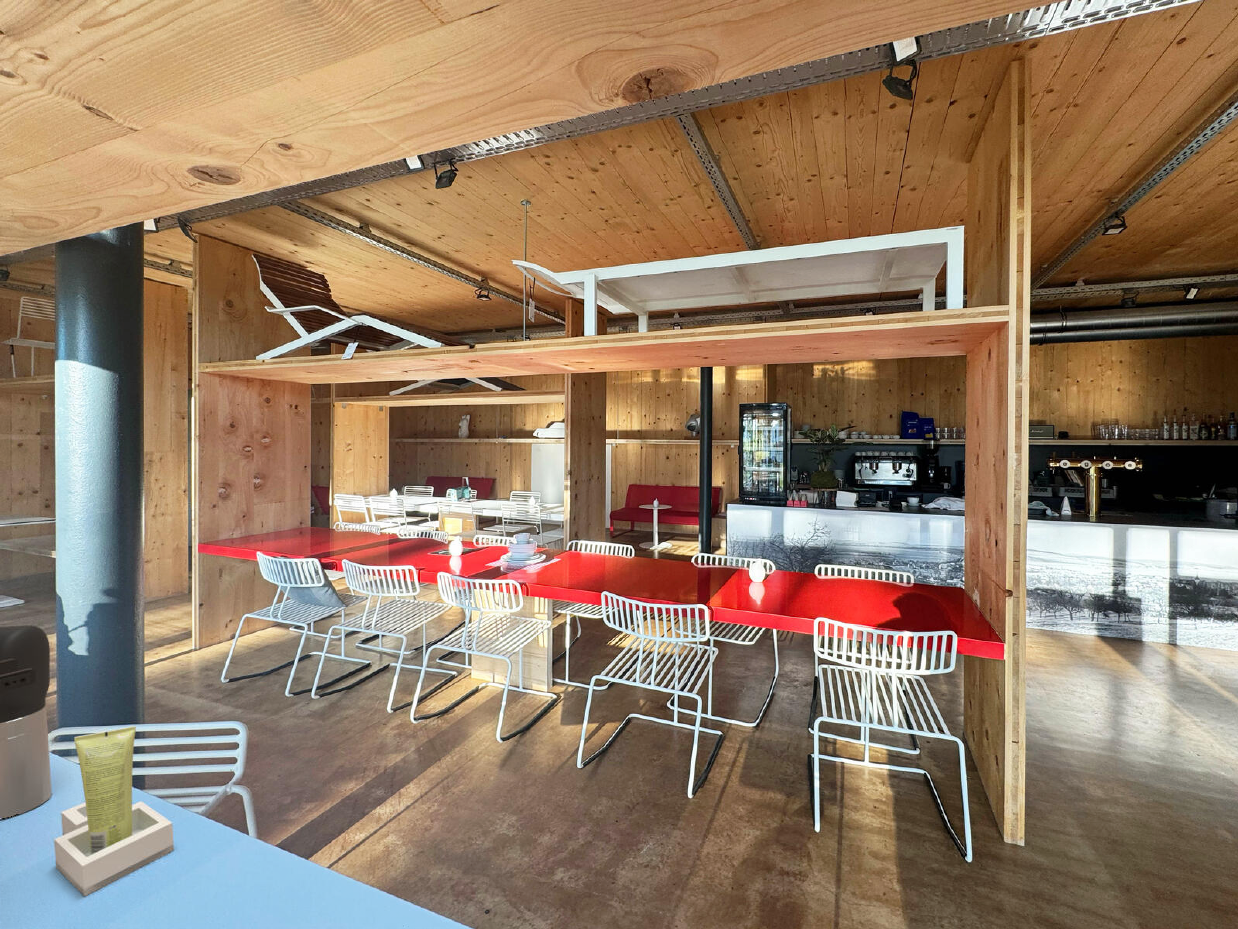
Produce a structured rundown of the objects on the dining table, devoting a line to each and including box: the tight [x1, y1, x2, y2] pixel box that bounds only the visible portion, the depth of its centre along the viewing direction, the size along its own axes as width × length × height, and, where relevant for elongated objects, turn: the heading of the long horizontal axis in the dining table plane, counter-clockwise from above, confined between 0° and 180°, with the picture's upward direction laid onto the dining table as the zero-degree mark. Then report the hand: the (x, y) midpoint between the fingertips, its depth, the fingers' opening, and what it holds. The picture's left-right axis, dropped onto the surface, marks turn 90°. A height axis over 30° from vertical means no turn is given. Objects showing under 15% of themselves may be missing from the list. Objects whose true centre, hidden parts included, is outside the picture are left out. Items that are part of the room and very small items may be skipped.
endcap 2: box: [53, 801, 175, 897], centre depth 92 cm, size 12×11×4 cm
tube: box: [73, 725, 137, 855], centre depth 92 cm, size 6×5×20 cm
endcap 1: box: [60, 802, 88, 836], centre depth 99 cm, size 7×7×4 cm
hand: (25, 670), depth 87 cm, fingers open, 8 cm apart
